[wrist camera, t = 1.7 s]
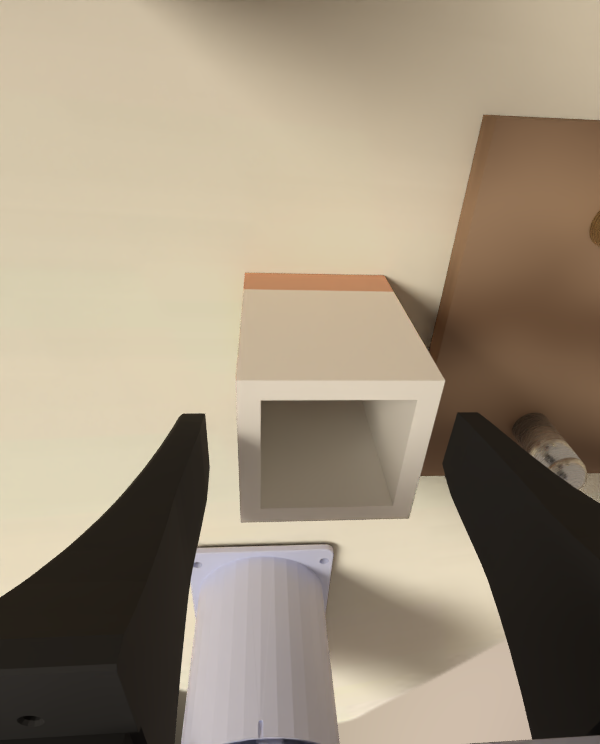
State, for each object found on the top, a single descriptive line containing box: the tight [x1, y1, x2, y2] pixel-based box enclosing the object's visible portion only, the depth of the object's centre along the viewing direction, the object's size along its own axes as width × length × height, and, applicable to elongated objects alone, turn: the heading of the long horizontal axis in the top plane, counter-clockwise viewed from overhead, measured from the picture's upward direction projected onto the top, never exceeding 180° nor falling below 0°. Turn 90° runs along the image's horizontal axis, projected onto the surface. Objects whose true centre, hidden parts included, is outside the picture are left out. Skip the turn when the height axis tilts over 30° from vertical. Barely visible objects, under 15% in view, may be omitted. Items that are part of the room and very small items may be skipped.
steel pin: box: [512, 413, 587, 490], centre depth 19 cm, size 2×2×4 cm
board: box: [420, 115, 600, 476], centre depth 19 cm, size 15×10×1 cm, turn 177°
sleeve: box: [236, 273, 445, 523], centre depth 16 cm, size 5×5×7 cm
